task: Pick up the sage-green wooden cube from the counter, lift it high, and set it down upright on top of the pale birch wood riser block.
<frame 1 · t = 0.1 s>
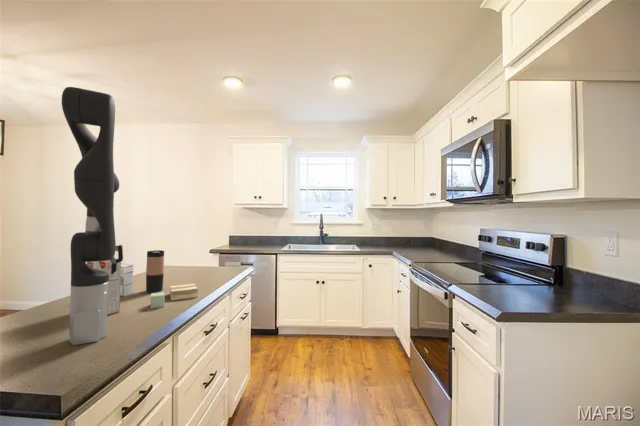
hand: (97, 274, 98), 17 cm above the worktop, tool pointing down, fingers open, 8 cm apart
syrup box: (122, 294, 132), on the worktop
riser: (183, 295, 133), on the worktop
travel mug: (154, 291, 140), on the worktop
cracker box: (102, 311, 110), on the worktop
cube: (157, 305, 118), on the worktop
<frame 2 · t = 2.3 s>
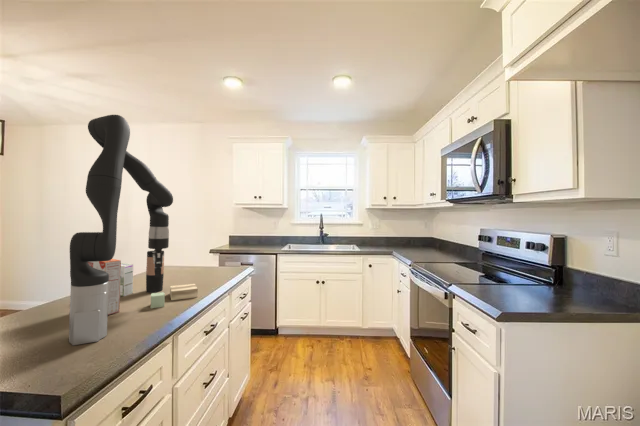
hand: (157, 274, 118), 13 cm above the worktop, tool pointing down, fingers open, 8 cm apart
nothing on the worktop moved.
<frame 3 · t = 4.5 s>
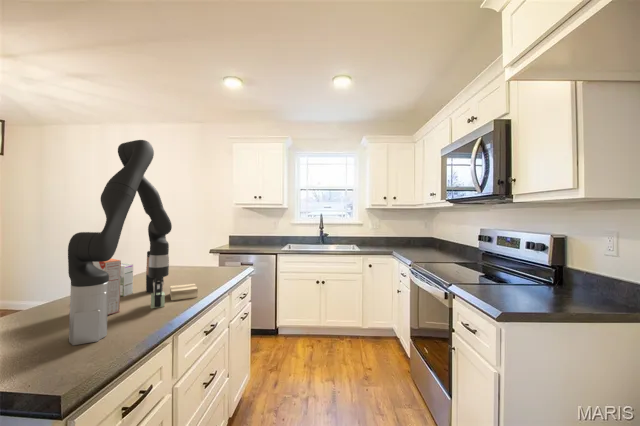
hand: (157, 304, 118), 0 cm above the worktop, tool pointing down, fingers closed on cube, 5 cm apart
cube: (157, 305, 118), on the worktop, touching gripper
everything else where it was.
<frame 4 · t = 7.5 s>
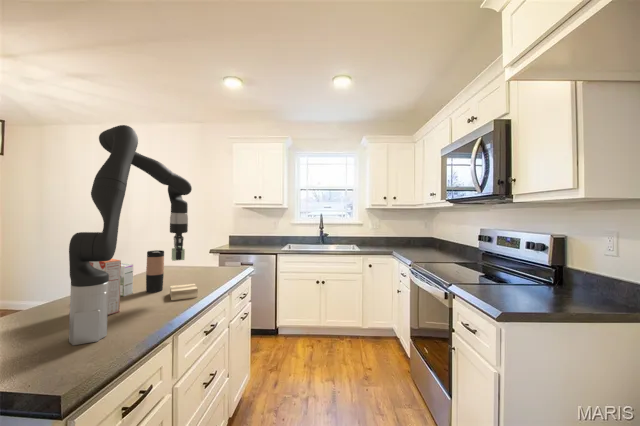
hand: (178, 258, 130), 18 cm above the worktop, tool pointing down, fingers closed on cube, 5 cm apart
cube: (177, 259, 130), point 18 cm above the worktop, touching gripper
everything else where it was.
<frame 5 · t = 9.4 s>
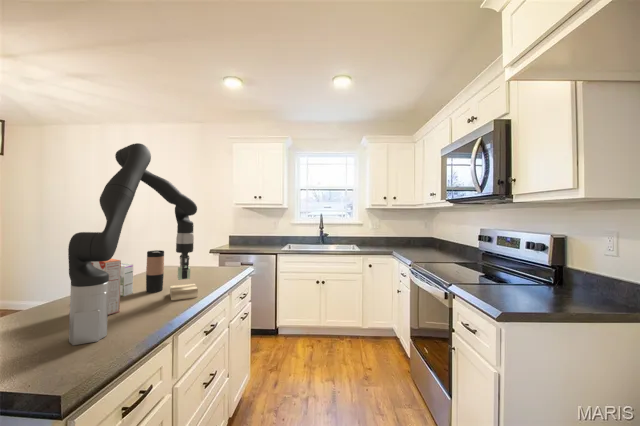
hand: (183, 277, 133), 9 cm above the worktop, tool pointing down, fingers closed on cube, 5 cm apart
cube: (183, 278, 133), point 8 cm above the worktop, touching gripper
everything else where it was.
when the fingers open (6 cm above the worktop, at t = 10.9 s): cube drops 1 cm, resting on riser.
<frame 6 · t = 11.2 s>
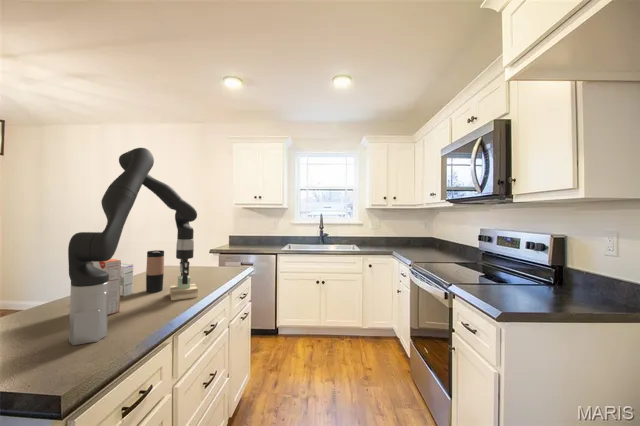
hand: (184, 282, 133), 7 cm above the worktop, tool pointing down, fingers open, 8 cm apart
cube: (183, 287, 133), point 4 cm above the worktop, touching riser
everything else where it was.
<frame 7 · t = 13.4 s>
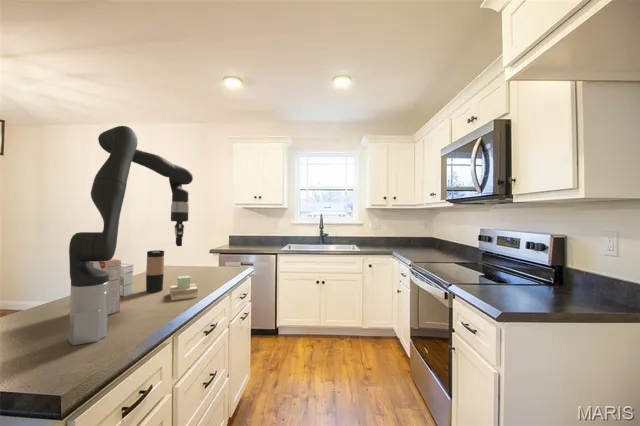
hand: (178, 245, 132), 24 cm above the worktop, tool pointing down, fingers open, 8 cm apart
nothing on the worktop moved.
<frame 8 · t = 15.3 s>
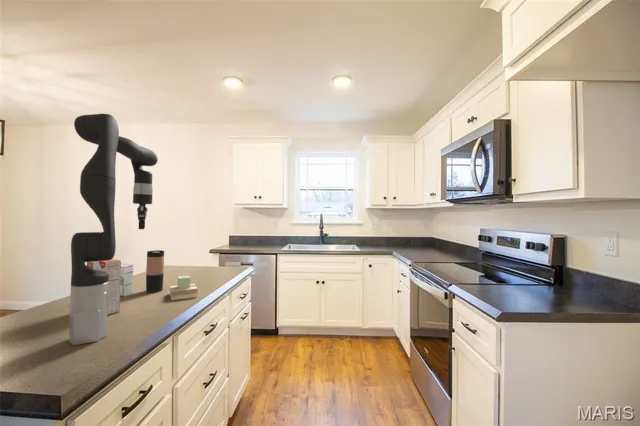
hand: (141, 228, 128), 32 cm above the worktop, tool pointing down, fingers open, 8 cm apart
nothing on the worktop moved.
at the end: cube inside the target area on the riser (0.2 cm from its centre), point 4.0 cm above the riser's base; cube tilted 0°; the gripper is holding nothing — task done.
